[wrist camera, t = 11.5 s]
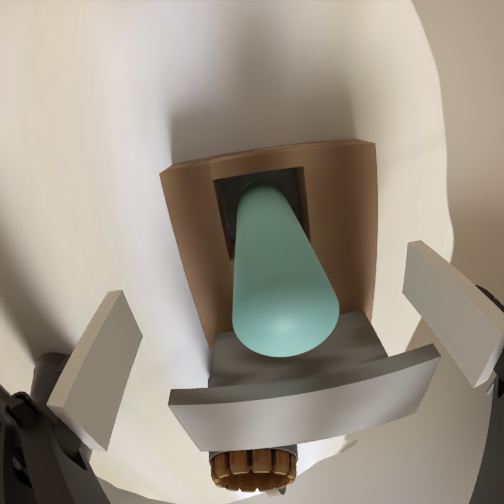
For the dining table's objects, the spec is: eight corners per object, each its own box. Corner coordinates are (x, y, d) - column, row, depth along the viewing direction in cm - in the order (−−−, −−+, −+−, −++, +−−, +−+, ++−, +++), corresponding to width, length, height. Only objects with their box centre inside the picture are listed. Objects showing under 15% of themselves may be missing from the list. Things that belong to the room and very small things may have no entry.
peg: (241, 225, 26) (242, 362, 11) (234, 182, 24) (221, 282, 10) (286, 218, 26) (338, 347, 11) (280, 175, 24) (339, 263, 9)
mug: (194, 359, 33) (178, 470, 19) (277, 337, 32) (294, 457, 18) (241, 420, 39) (243, 505, 26) (307, 405, 38) (324, 492, 25)
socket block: (213, 324, 30) (200, 451, 17) (171, 165, 23) (83, 231, 9) (358, 300, 30) (415, 412, 16) (356, 139, 23) (479, 174, 9)
